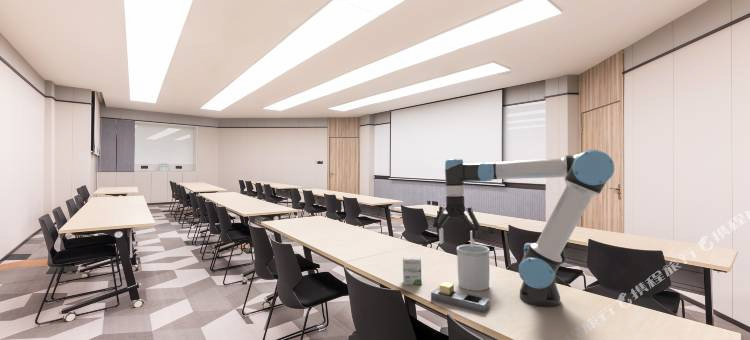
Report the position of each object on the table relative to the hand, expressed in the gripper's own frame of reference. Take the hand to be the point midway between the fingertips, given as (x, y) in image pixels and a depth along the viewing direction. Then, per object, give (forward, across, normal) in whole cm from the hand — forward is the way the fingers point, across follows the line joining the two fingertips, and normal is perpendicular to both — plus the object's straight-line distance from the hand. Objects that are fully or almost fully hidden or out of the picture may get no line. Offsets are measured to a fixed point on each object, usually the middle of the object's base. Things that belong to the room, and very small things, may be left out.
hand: (456, 245), depth 140 cm
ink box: (+22, +24, -4) cm, 33 cm away
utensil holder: (+22, -2, -16) cm, 28 cm away
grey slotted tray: (+22, -3, +6) cm, 23 cm away
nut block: (+22, +3, +6) cm, 23 cm away
